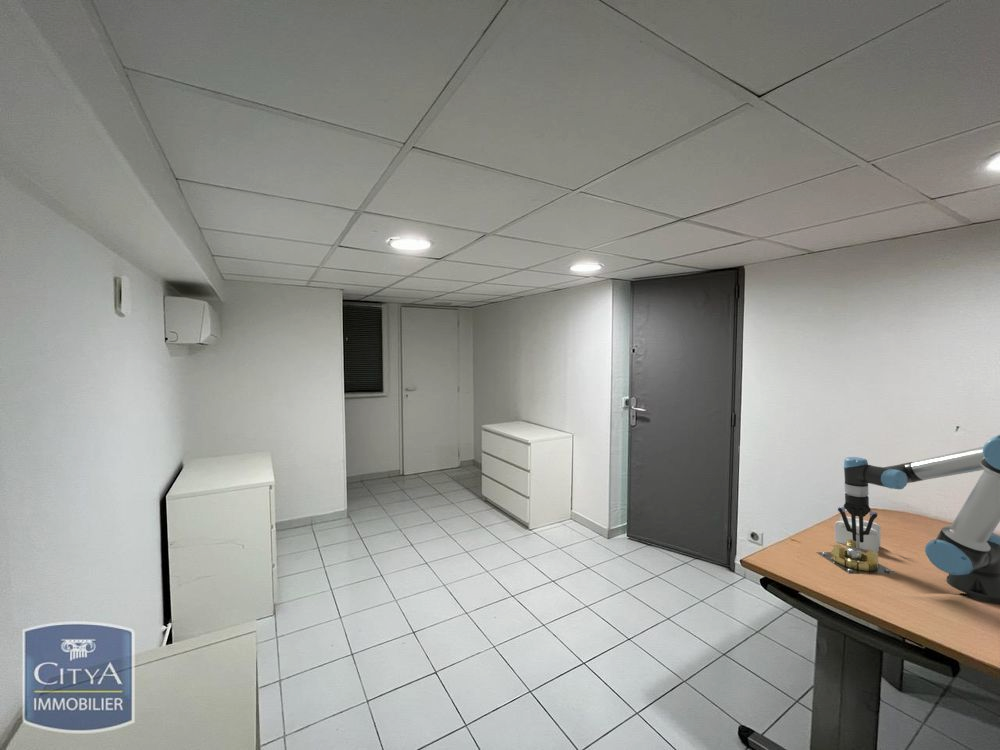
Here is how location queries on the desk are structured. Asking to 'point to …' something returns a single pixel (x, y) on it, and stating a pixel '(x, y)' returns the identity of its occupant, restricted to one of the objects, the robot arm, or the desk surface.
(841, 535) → the cable organizer
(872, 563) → the ring nut
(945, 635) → the desk surface
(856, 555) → the flange
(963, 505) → the robot arm
